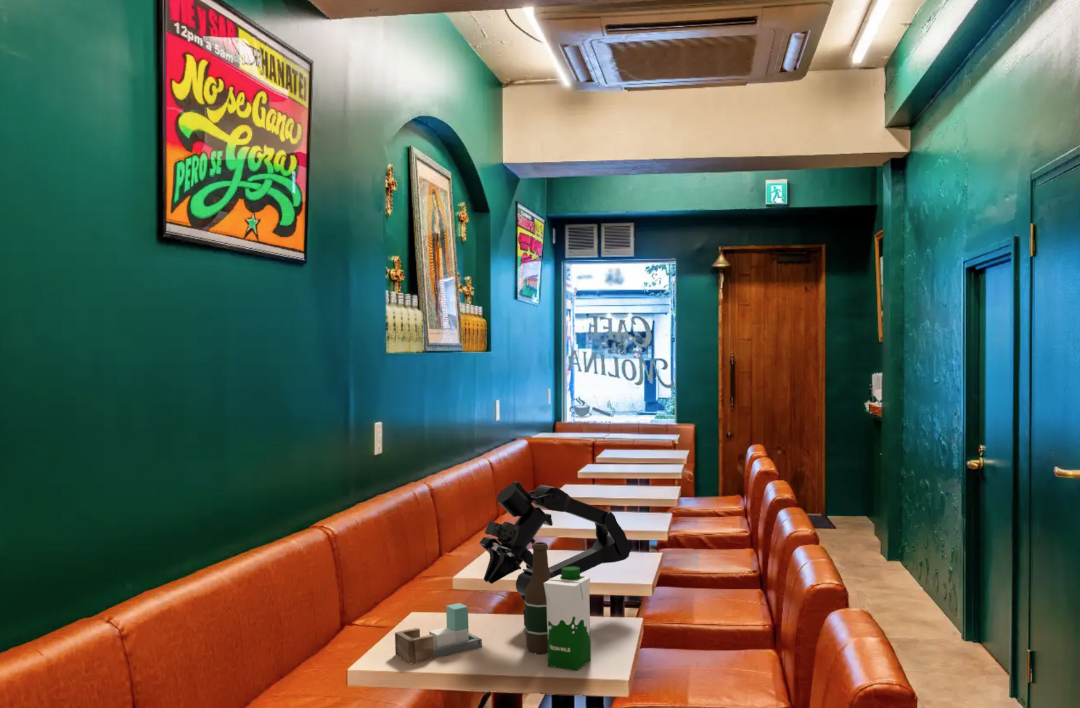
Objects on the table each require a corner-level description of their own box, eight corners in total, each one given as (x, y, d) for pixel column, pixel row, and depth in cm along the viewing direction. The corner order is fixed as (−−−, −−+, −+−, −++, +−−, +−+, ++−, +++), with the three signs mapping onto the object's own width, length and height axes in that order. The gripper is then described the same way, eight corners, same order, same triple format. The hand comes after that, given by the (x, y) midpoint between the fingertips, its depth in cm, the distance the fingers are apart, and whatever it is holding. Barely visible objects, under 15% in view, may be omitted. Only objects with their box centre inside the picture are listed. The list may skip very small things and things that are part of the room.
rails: (466, 639, 208) (466, 631, 208) (482, 646, 201) (481, 639, 201) (418, 649, 201) (418, 641, 201) (433, 658, 194) (433, 650, 194)
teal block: (460, 641, 205) (459, 603, 205) (468, 645, 201) (467, 606, 202) (429, 648, 200) (428, 609, 200) (437, 653, 197) (436, 613, 197)
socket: (418, 649, 201) (417, 627, 201) (433, 658, 194) (433, 636, 194) (395, 654, 198) (394, 632, 198) (410, 664, 191) (410, 641, 191)
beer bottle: (556, 655, 194) (553, 547, 194) (522, 654, 195) (519, 546, 196) (562, 644, 202) (559, 539, 202) (529, 643, 203) (526, 539, 203)
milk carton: (596, 659, 191) (593, 567, 191) (578, 673, 183) (575, 577, 183) (560, 654, 195) (557, 564, 195) (541, 667, 187) (538, 573, 187)
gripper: (485, 503, 218) (446, 554, 212) (525, 513, 202) (485, 568, 196) (512, 531, 222) (476, 581, 216) (554, 542, 207) (516, 597, 200)
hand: (487, 581), depth 207 cm, fingers closed
